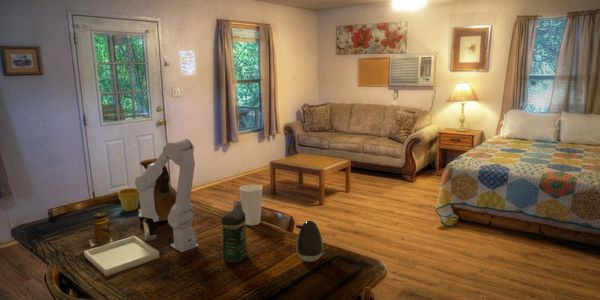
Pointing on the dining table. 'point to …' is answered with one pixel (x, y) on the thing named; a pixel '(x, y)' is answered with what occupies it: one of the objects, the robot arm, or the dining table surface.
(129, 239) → the tray
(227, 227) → the green squeeze bottle
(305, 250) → the pump dispenser
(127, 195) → the plant pot
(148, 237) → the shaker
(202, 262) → the dining table surface
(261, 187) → the cup
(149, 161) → the ceramic pitcher
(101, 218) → the condiment
